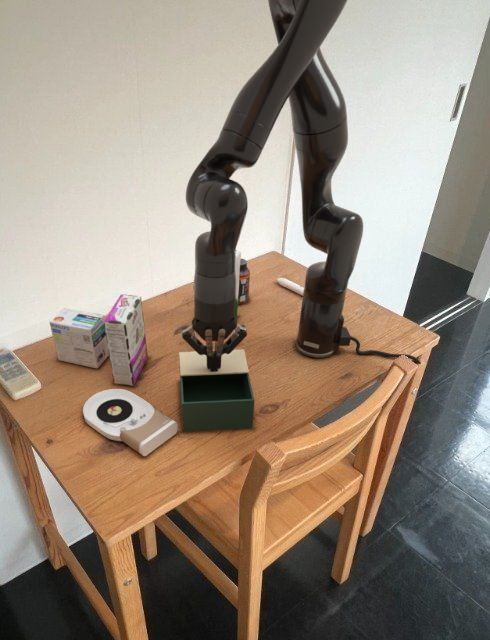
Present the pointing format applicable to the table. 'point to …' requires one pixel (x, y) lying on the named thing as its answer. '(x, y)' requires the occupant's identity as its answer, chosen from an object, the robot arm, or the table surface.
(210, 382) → the dark green open box
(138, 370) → the candy bar box
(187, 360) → the flap
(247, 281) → the supplement bottle
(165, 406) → the table surface
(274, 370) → the table surface
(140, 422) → the record player
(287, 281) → the marker
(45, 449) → the table surface
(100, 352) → the light bulb box
